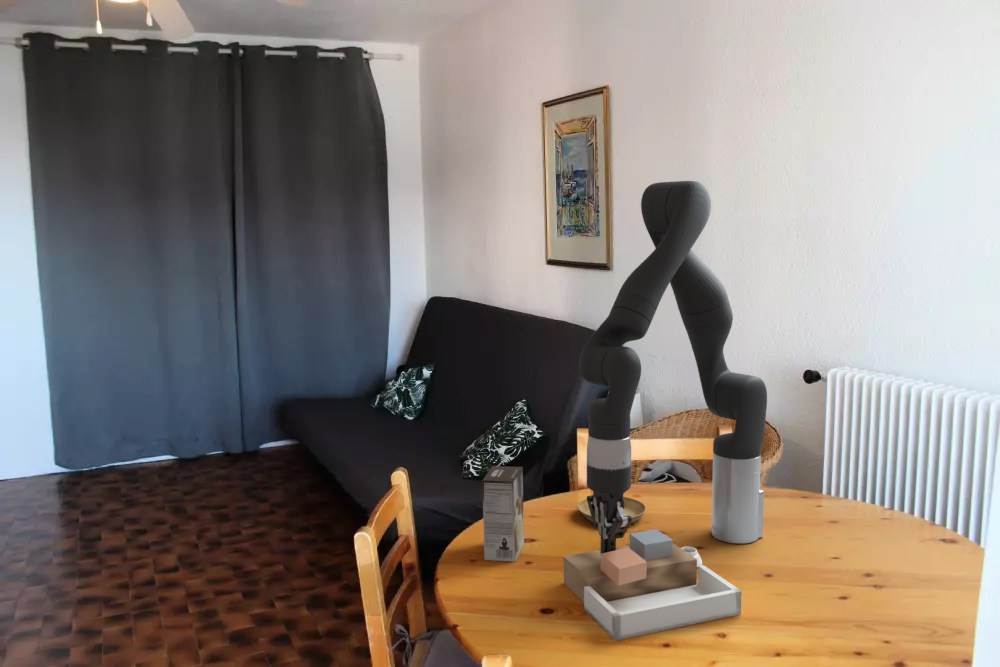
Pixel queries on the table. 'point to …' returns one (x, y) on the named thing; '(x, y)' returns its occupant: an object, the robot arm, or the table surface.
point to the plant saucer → (630, 509)
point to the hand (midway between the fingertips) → (608, 557)
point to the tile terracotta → (623, 566)
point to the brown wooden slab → (658, 578)
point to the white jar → (693, 554)
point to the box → (665, 607)
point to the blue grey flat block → (651, 544)
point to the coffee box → (503, 513)
